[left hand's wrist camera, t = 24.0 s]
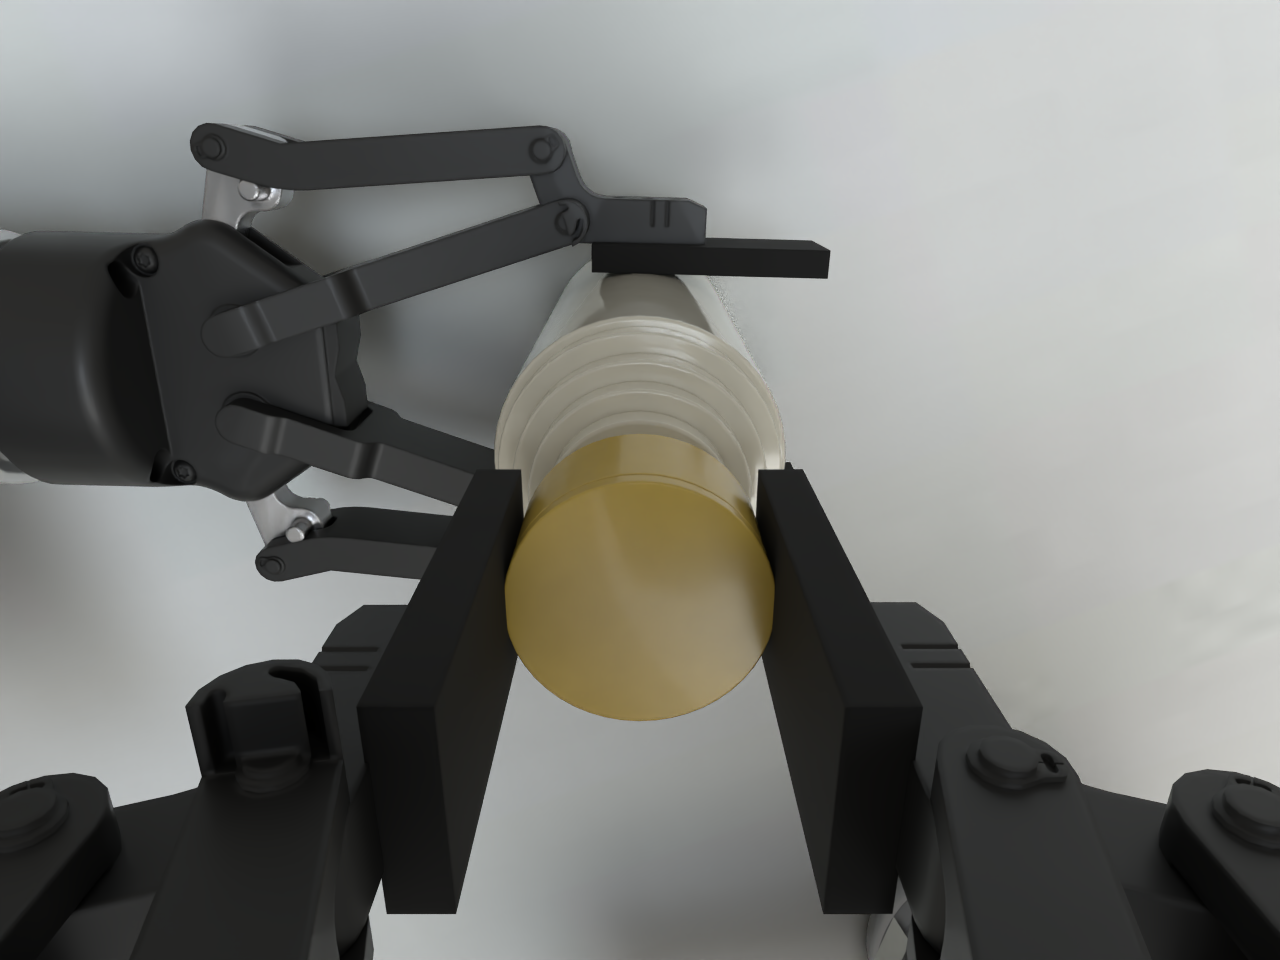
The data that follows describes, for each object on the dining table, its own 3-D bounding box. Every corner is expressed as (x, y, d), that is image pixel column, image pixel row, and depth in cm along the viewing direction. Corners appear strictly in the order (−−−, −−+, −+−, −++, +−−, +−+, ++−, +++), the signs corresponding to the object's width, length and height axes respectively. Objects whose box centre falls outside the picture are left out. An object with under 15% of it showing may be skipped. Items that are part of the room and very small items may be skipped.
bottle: (518, 333, 31) (352, 585, 13) (639, 205, 30) (638, 293, 12) (640, 448, 33) (640, 809, 15) (761, 333, 31) (926, 583, 13)
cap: (526, 645, 15) (509, 721, 13) (516, 431, 14) (495, 480, 12) (751, 646, 15) (768, 722, 13) (765, 433, 14) (786, 482, 12)
